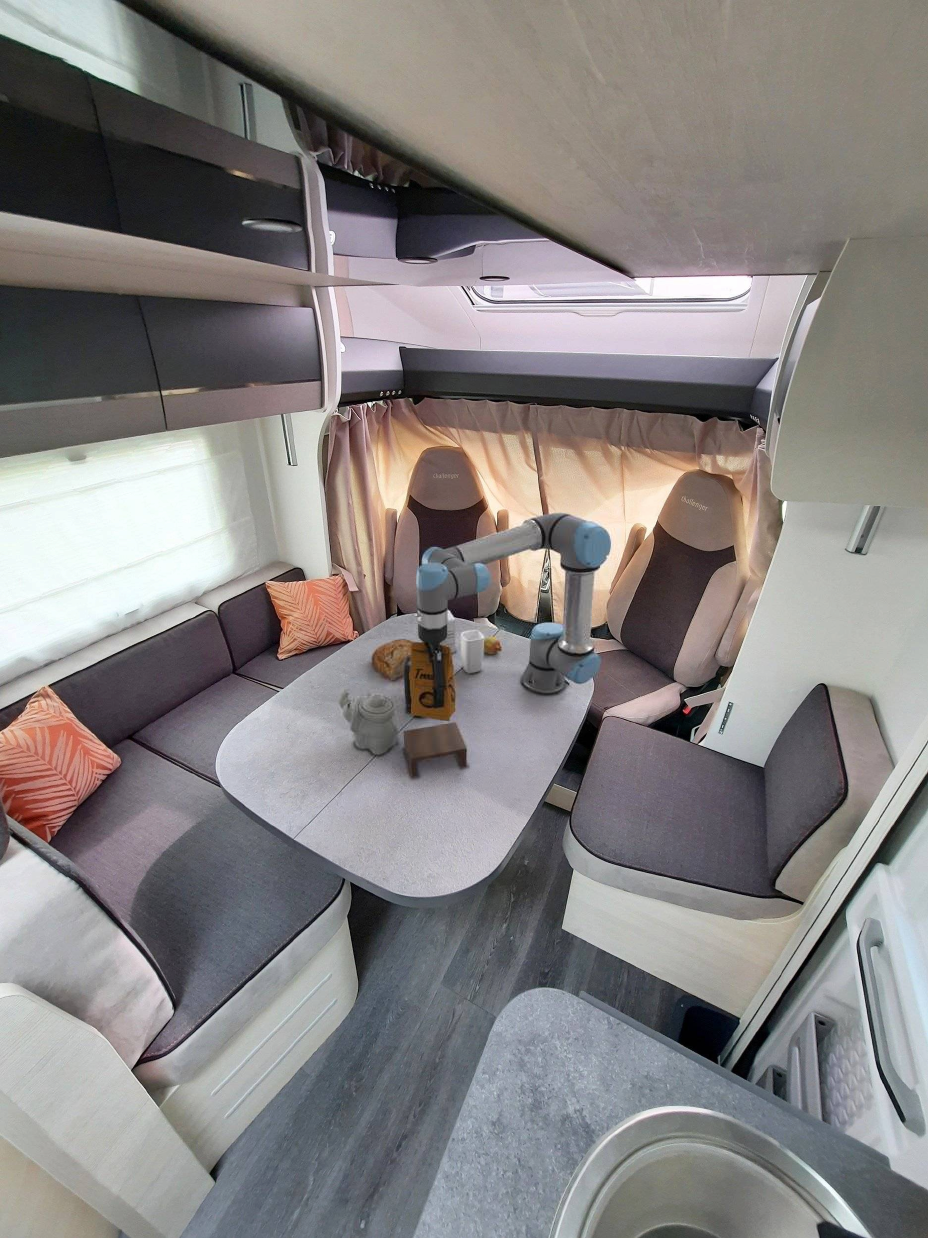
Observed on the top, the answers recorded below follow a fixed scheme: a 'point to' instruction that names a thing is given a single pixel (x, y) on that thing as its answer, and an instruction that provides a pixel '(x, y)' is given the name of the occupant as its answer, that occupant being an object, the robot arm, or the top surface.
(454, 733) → the small table
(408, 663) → the portable speaker
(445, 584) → the robot arm
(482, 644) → the cup
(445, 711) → the coffee package
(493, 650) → the fruit
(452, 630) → the rectangular carton
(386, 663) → the bread
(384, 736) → the teapot
